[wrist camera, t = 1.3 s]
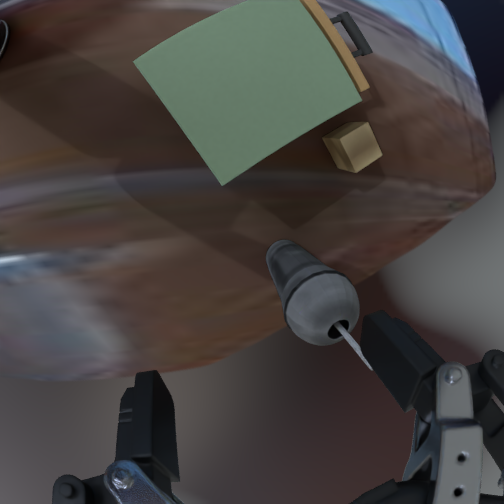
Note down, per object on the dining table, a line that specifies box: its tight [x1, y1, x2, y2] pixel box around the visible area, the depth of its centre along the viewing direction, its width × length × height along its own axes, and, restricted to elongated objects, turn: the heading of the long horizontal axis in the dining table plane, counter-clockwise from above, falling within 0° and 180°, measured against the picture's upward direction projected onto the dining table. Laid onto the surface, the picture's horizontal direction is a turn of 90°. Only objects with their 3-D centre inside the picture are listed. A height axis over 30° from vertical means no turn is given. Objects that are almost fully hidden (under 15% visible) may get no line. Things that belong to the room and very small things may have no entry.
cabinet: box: [133, 0, 362, 186], centre depth 23 cm, size 15×13×10 cm
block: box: [322, 122, 382, 173], centre depth 30 cm, size 4×4×4 cm
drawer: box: [299, 0, 373, 92], centre depth 22 cm, size 18×11×8 cm, turn 122°
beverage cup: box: [266, 240, 373, 371], centre depth 27 cm, size 7×7×20 cm
